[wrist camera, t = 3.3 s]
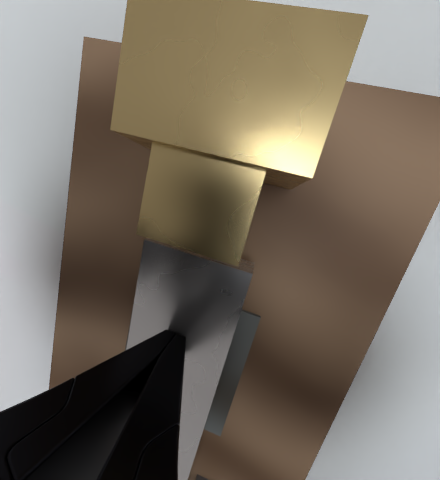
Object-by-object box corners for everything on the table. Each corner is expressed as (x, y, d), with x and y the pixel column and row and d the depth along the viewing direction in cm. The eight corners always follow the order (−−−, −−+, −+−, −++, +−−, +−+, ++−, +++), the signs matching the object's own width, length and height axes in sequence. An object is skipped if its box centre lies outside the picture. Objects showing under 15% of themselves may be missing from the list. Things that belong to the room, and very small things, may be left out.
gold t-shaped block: (270, 251, 8) (276, 282, 5) (157, 218, 9) (97, 225, 6) (319, 102, 7) (368, 15, 4) (184, 77, 8) (129, -15, 5)
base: (267, 523, 13) (270, 664, 9) (61, 421, 15) (-11, 499, 11) (452, 119, 8) (643, 35, 4) (104, 56, 10) (3, -40, 6)
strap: (182, 491, 11) (173, 524, 10) (119, 460, 12) (103, 488, 11) (254, 262, 8) (252, 274, 7) (160, 233, 9) (144, 239, 7)
